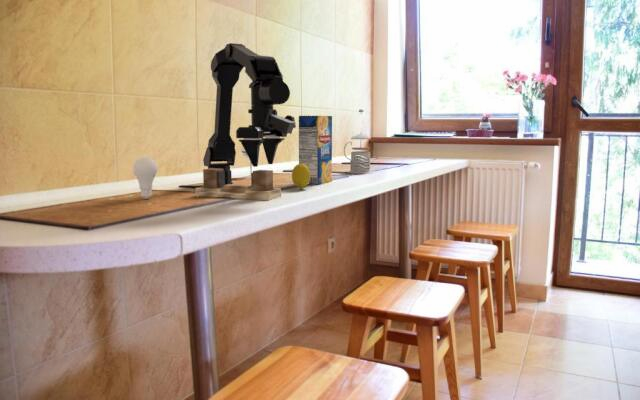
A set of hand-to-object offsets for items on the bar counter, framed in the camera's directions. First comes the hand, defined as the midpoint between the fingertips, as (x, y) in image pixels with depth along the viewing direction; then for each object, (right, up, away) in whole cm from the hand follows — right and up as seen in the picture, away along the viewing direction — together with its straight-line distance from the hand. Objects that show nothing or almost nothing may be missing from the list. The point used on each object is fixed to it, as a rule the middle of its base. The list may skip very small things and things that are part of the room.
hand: (263, 165), depth 145 cm
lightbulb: (-30, -9, -1) cm, 32 cm away
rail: (-7, -8, +4) cm, 12 cm away
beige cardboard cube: (0, -7, +1) cm, 8 cm away
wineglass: (-10, -1, +54) cm, 55 cm away
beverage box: (+14, -4, +38) cm, 40 cm away
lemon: (+9, -6, +20) cm, 23 cm away
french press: (+30, +2, +75) cm, 81 cm away
